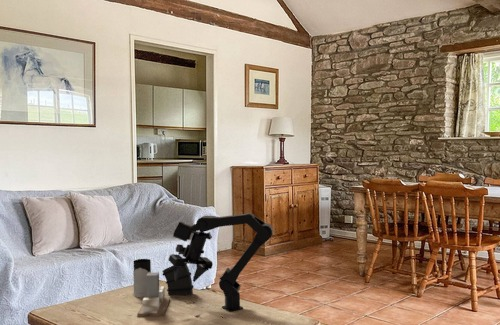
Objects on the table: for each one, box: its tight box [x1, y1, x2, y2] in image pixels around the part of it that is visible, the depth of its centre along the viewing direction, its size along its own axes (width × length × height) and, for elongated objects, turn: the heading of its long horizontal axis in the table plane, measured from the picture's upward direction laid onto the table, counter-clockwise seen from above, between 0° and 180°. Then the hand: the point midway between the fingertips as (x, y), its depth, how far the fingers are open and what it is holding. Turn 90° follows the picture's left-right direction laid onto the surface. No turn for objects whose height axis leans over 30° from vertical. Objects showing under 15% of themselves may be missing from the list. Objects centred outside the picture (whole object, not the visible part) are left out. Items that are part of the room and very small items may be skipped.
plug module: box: [146, 271, 160, 304], centre depth 195 cm, size 4×4×13 cm
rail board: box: [136, 285, 171, 318], centre depth 198 cm, size 10×20×6 cm, turn 2°
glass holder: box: [132, 258, 152, 298], centre depth 220 cm, size 9×14×15 cm, turn 178°
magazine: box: [162, 263, 194, 296], centre depth 216 cm, size 4×13×15 cm, turn 80°
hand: (184, 280), depth 198 cm, fingers open, 9 cm apart
